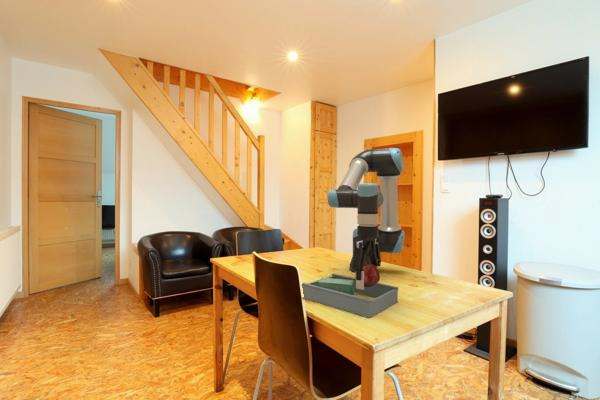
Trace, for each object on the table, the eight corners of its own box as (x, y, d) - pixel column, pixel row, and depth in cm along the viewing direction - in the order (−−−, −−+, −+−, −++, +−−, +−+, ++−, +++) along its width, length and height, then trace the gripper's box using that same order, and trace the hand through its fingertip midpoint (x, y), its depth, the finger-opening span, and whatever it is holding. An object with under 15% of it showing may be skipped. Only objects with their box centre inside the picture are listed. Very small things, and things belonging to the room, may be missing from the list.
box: (352, 304, 117) (352, 284, 117) (317, 300, 120) (317, 281, 120) (354, 298, 124) (354, 279, 124) (321, 295, 127) (321, 276, 127)
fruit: (382, 285, 118) (382, 258, 117) (376, 291, 109) (376, 263, 109) (358, 281, 122) (359, 256, 122) (351, 288, 113) (351, 260, 113)
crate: (333, 286, 139) (333, 273, 139) (398, 302, 119) (398, 287, 119) (301, 297, 123) (301, 283, 123) (369, 318, 103) (369, 301, 103)
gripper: (373, 222, 126) (372, 278, 126) (342, 226, 110) (341, 290, 110) (390, 224, 121) (390, 281, 121) (360, 228, 105) (360, 294, 105)
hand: (367, 285), depth 116 cm, fingers closed on fruit, 9 cm apart
